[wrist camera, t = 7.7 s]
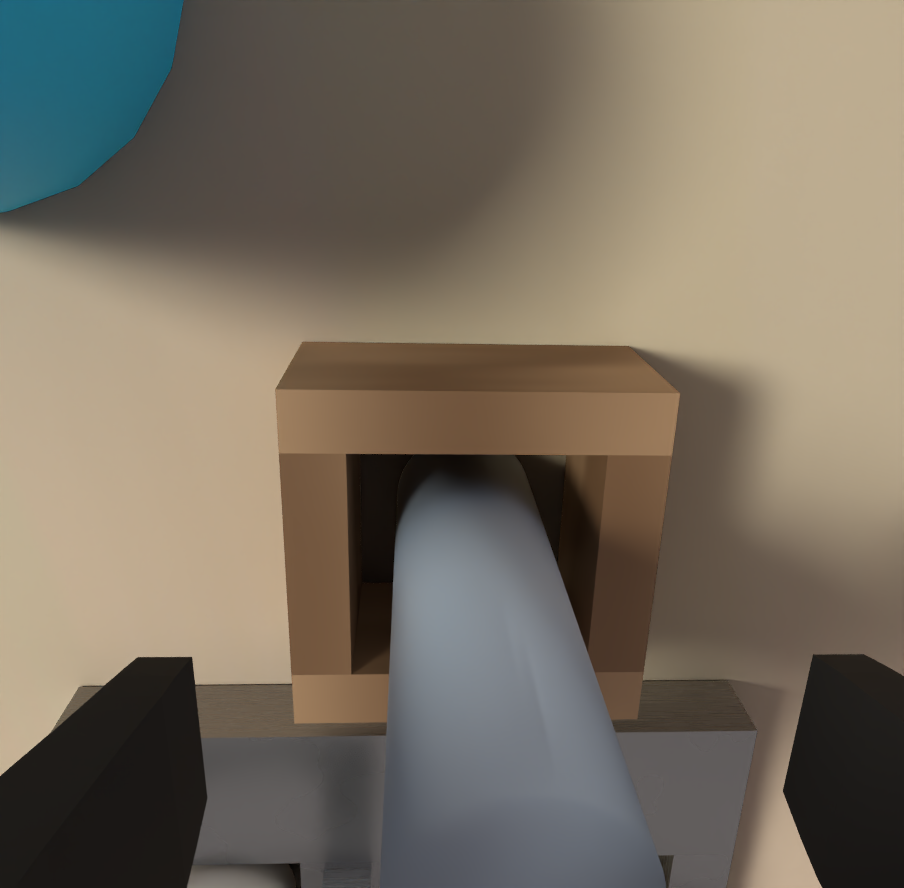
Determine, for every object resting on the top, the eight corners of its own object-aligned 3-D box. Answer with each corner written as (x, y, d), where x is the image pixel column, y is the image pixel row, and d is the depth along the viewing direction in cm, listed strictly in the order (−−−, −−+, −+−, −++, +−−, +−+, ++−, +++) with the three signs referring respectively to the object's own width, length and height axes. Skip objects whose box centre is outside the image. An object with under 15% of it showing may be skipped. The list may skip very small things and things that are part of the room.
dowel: (536, 437, 15) (691, 800, 7) (521, 557, 16) (640, 1008, 8) (401, 429, 15) (387, 791, 7) (393, 550, 16) (371, 1006, 7)
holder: (628, 346, 15) (680, 393, 12) (599, 623, 17) (637, 719, 14) (302, 342, 14) (275, 389, 11) (314, 624, 16) (294, 723, 14)
